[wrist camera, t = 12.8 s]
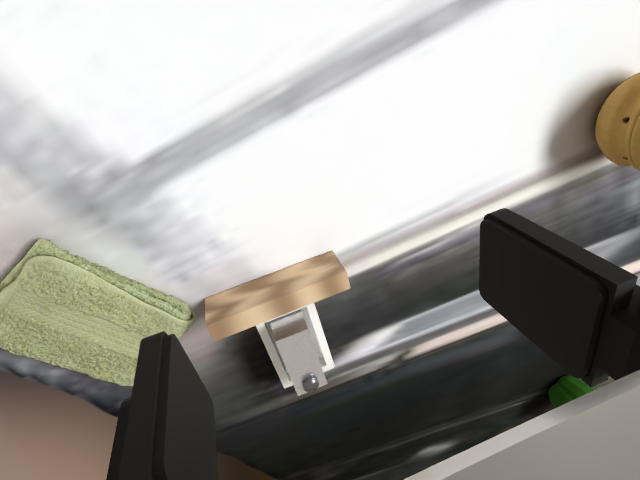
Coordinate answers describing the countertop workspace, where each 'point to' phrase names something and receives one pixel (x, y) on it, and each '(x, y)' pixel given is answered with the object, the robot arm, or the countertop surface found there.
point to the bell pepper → (568, 390)
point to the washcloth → (82, 314)
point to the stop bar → (298, 352)
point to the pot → (621, 124)
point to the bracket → (316, 335)
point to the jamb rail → (274, 295)
